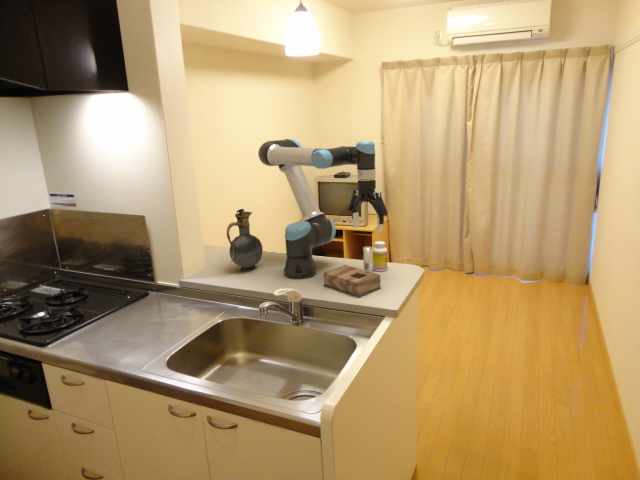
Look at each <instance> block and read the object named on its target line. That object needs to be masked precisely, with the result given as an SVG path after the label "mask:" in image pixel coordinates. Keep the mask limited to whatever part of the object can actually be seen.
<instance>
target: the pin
mask: <svg viewBox="0 0 640 480" xmlns="http://www.w3.org/2000/svg"><path fill="white" fill-rule="evenodd" d="M362 251H363V252H362V254H363V256H362V257H363V258H362V259H363V270H365V271H369V272H372V273H374V269H373V247H372V246H370V245H369V246H368V245H367V246H362Z"/></svg>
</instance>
